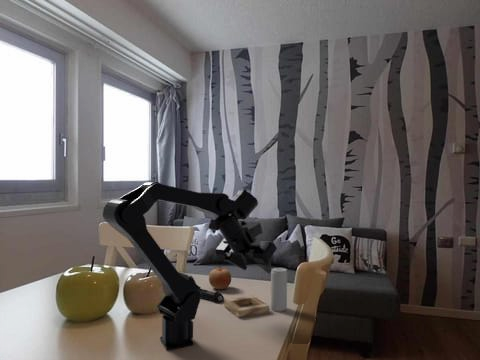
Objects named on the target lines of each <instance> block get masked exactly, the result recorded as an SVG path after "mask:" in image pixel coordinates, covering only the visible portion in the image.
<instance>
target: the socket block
mask: <svg viewBox="0 0 480 360" xmlns="http://www.w3.org/2000/svg"><path fill="white" fill-rule="evenodd" d="M223 307H224V308H225V309H227V311H229V312H230V313H232V314H233V315H234V316H235V317H237V319H241V318H245V317H247V318H248V317H252V316H257V315H263V314H268V313H270V305H269V304H267V303H266V302H264V301H262V300H260V299H259V298H258V297H256V296H254V295H246V296H241V297H234V298H227V299H224V301H223Z"/></svg>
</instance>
